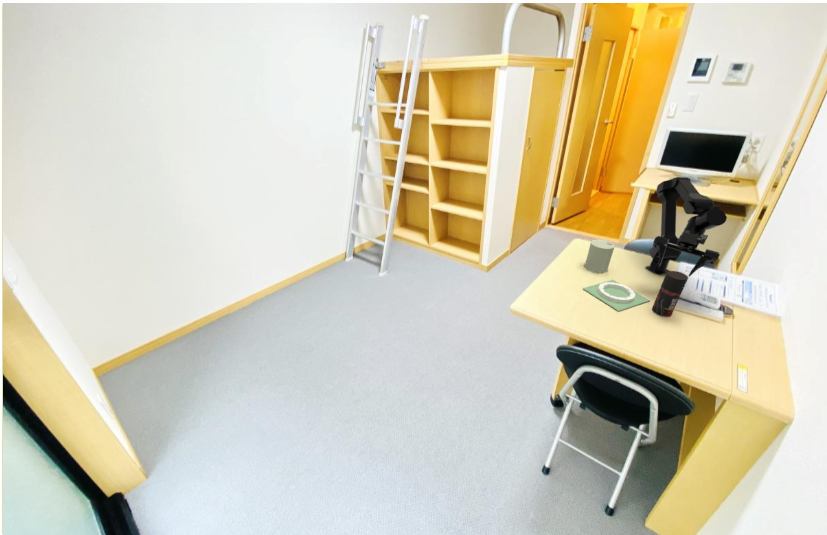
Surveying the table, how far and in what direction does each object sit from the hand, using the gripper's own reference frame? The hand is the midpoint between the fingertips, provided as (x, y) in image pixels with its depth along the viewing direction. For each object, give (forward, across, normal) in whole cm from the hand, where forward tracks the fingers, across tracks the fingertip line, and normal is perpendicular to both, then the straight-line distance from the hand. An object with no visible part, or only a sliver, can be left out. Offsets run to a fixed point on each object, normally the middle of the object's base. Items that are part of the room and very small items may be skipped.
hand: (673, 271), depth 120 cm
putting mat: (+15, -13, +3) cm, 20 cm away
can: (+4, -26, +16) cm, 31 cm away
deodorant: (+15, +2, +3) cm, 15 cm away
